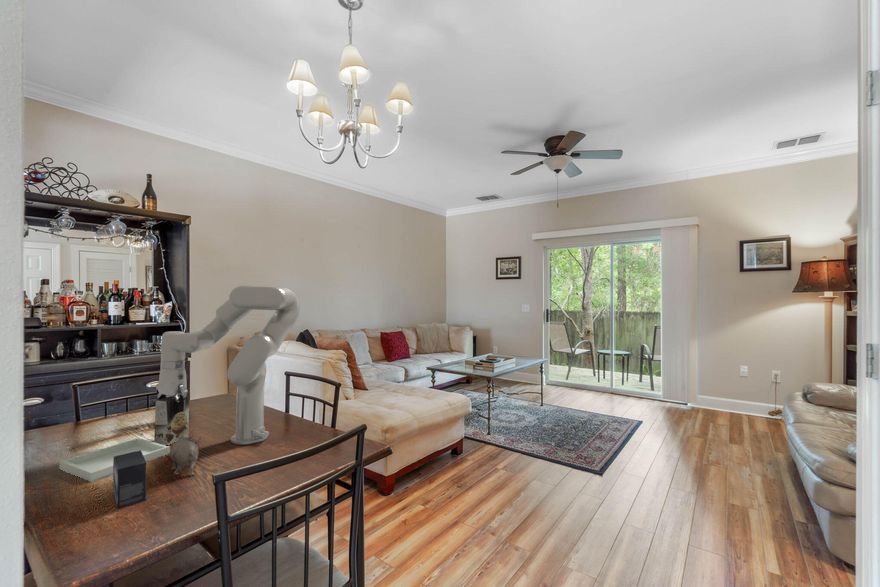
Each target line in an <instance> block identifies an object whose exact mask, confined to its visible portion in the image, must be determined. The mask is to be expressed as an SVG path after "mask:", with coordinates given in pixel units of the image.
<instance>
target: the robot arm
mask: <svg viewBox="0 0 880 587" xmlns="http://www.w3.org/2000/svg"><path fill="white" fill-rule="evenodd" d="M254 310H255V311H256V310H257V311H259V310H260V311H264V310H265V311H275V312H274V313H273V315H272V316H271V317H270V319H268V322H267V323H266V325H265V326H264V327H263V328H262V330H261V331H260V332H259V333H257V334H254V335H252V336H250V337H249V338H248V339H247V340H246V341H245V342H244V344H243V345H242V347H241V348H240V349H239V351H238V352H237V354H236V356H235V357H234V359H232V361H231V363H230V364H229V366H228V369H227V371H226V372H227V373H226V374H227V380H228V381H229V383H230V384H231V385H233V386H235V387H236V396H235V397H236V398H235V400H236V402H235V403H236V404H235V406H236V407H235V434H233V435H232V436H231V437H230V442H231V443H232V444H234V445H243V446H244V445H252V444H256V443H261V442H263V441H264V440H266V439H267V438H268V436H270V431H268V430H267V431H266V426H264V424H265V423H264V422H265V420H264V418H265V417H264V414H265V411H264V410H265V385H266V376H267V365H266V361H267V360H268V358H271V357H272V356H273V355H275V354H276V353H277V352H278V351H279V348H280V347H281V345H282V344H283V342H284V341H285V339H286V338H287V336H288V334H290V331H291V329H292V328H293V326H294V325H295V323H296V321H297V319H298V317H299V314H300V302H299V299H298V296H297V295H296V293H294V291H292V290H291V289H289V288H288V287H284V286H283V287H281V286H253V285H238V286H235V287H234V288H233V289H232V290H231V291H230V294H229V298H228V300H226V301H225V302H224V303H222V305H220V306H219V307H217V309H216V310H215V317H214V319H213V320H212V321H210V322H209V323H208V324H207V325H206V326H205V327H203V328H202V329H200V330H198V331H197V330H196V331H192V332H184V331H179V330H177V331H175V330H174V331H172V330H171V331H165V332H163V333H162V336H161V345H160V346H161V347H160V348H161V352H160V371H159V376H158V377H159V378H158V383H156V385H155V388H156V394H157V397H156V398H157V400H159V399H163V398H166V396H172V397H174V399H175V401H176V402H175V403H174V413H180V412H183V411H184V401H185V399H186V397H187V395H188V394H189V390H188V388H187V386H188V385H187V381H188V380H187V371H186V365H185V364H186V353H187V354H188V353H190V354H193V353H198V352H200V351H203V350H207V349H209V348H211V347H212V346H214V345H215V344H217V343H218V342H219V341H220V340H222V339H223V338H224V337H225V336H226V335H227V334H228V333H229V332H230V331H231V330H232V329H233V327H234V326H235V325H236V324H238V323H239V322H240V321H241V320H242V319H243V318H244V317H246V316H247V315H248V314H249V313H250V312H252V311H254ZM177 393H178V394H177ZM178 396H180V397H179V398H178Z"/></svg>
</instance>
